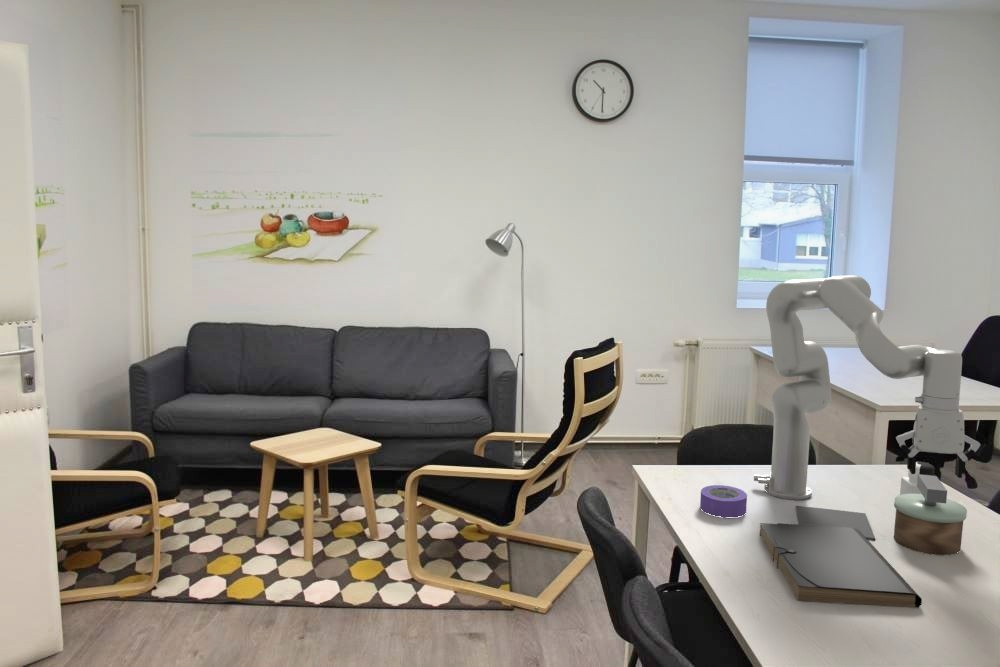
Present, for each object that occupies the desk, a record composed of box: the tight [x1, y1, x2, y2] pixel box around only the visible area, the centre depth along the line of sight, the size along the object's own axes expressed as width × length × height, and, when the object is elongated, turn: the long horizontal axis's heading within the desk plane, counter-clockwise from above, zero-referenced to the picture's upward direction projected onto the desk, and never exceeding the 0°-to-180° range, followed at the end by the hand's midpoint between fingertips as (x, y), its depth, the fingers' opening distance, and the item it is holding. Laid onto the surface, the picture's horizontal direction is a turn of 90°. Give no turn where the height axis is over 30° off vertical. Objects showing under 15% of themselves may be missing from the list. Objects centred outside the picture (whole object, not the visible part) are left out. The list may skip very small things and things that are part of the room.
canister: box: [893, 508, 964, 556], centre depth 183 cm, size 14×14×8 cm
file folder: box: [759, 522, 923, 608], centre depth 170 cm, size 33×4×24 cm
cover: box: [893, 474, 968, 523], centre depth 182 cm, size 15×15×7 cm
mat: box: [795, 504, 876, 541], centre depth 195 cm, size 17×17×1 cm
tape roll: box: [699, 484, 748, 517], centre depth 203 cm, size 12×12×5 cm
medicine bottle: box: [899, 461, 936, 495], centre depth 206 cm, size 7×7×12 cm
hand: (935, 474), depth 181 cm, fingers open, 9 cm apart
